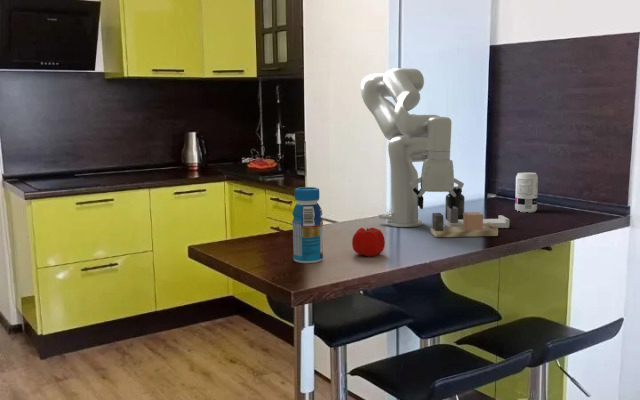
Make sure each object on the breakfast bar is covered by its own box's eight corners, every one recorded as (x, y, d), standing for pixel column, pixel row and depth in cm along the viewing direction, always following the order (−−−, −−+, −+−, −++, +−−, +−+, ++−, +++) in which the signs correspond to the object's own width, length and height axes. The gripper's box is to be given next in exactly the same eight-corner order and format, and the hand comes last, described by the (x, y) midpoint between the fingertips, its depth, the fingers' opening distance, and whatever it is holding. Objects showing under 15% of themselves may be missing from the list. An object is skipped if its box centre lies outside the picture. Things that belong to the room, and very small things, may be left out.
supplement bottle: (460, 217, 236) (461, 185, 234) (466, 220, 229) (467, 188, 227) (442, 218, 235) (443, 186, 233) (448, 221, 228) (449, 188, 226)
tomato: (375, 250, 184) (375, 225, 183) (389, 256, 176) (389, 230, 175) (346, 253, 181) (346, 227, 180) (359, 260, 173) (359, 233, 172)
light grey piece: (450, 228, 213) (451, 209, 212) (445, 224, 221) (445, 205, 220) (509, 227, 214) (509, 208, 213) (501, 223, 221) (502, 204, 220)
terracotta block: (467, 230, 201) (467, 215, 201) (463, 227, 206) (463, 212, 206) (482, 230, 202) (483, 214, 201) (478, 227, 206) (478, 212, 206)
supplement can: (510, 210, 250) (511, 172, 248) (528, 208, 253) (529, 171, 251) (523, 213, 243) (524, 174, 240) (541, 211, 245) (542, 173, 243)
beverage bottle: (286, 261, 172) (285, 189, 169) (304, 255, 179) (303, 185, 176) (312, 265, 167) (310, 191, 164) (329, 258, 174) (328, 187, 171)
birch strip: (435, 237, 200) (435, 216, 199) (430, 232, 208) (430, 212, 207) (497, 235, 200) (498, 215, 199) (490, 231, 208) (490, 211, 207)
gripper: (413, 157, 196) (411, 210, 200) (467, 157, 197) (465, 210, 200) (409, 154, 204) (407, 205, 207) (461, 154, 204) (459, 205, 208)
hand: (435, 208), depth 204 cm, fingers open, 9 cm apart
